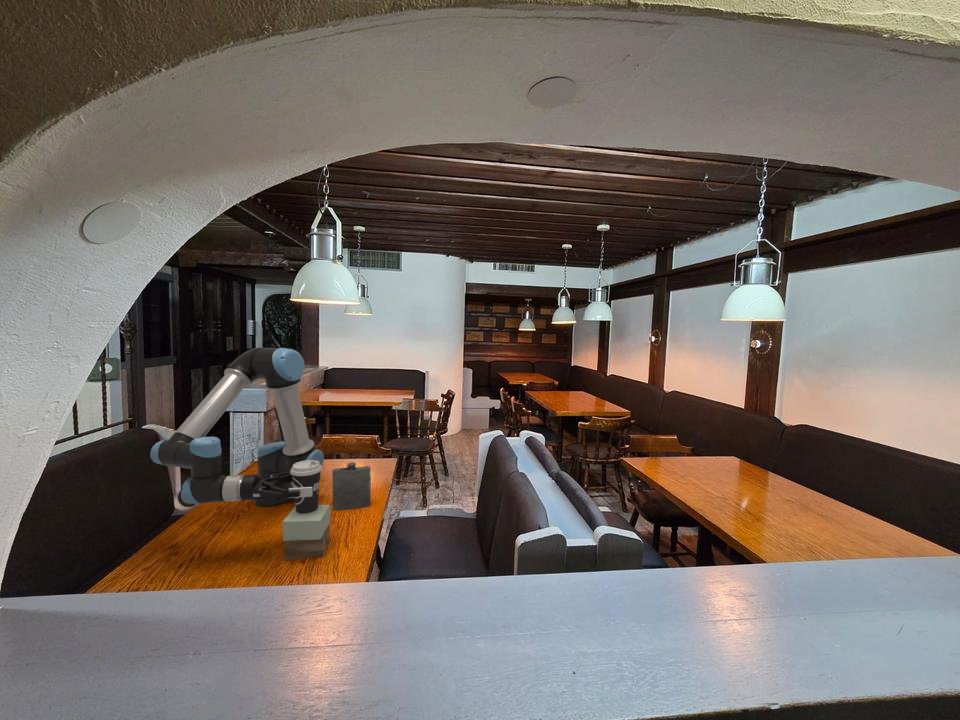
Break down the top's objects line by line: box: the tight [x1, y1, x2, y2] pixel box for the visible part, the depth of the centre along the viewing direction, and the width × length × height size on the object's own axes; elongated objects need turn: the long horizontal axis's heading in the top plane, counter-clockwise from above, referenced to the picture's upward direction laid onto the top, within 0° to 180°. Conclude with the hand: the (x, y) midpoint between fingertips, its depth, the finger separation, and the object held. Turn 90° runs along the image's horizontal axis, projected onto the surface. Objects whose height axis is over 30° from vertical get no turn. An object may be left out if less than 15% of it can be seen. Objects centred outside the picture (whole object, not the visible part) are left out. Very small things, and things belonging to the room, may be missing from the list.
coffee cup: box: [290, 460, 323, 514], centre depth 127 cm, size 10×10×15 cm
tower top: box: [282, 504, 331, 542], centre depth 125 cm, size 11×11×6 cm
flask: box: [331, 462, 372, 511], centre depth 154 cm, size 4×14×18 cm, turn 106°
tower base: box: [283, 524, 330, 561], centre depth 125 cm, size 11×11×6 cm
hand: (316, 483), depth 124 cm, fingers open, 13 cm apart
